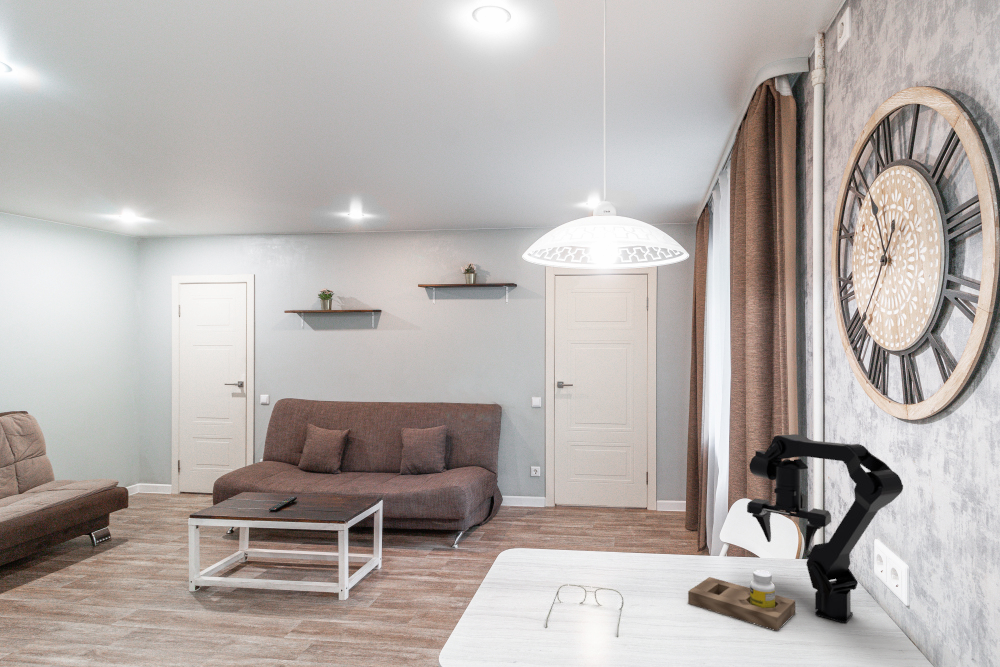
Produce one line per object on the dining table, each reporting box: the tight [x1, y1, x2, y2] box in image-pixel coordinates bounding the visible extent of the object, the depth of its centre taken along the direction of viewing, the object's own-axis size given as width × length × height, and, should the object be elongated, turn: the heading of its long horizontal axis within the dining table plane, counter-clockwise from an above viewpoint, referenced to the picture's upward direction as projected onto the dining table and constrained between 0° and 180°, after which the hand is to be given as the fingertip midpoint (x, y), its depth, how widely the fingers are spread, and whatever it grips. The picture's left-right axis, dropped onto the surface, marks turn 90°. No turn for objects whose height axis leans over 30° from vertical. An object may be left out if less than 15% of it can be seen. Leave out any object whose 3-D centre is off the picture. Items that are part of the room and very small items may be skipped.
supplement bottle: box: [749, 569, 776, 608], centre depth 145 cm, size 5×5×10 cm
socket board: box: [687, 576, 796, 631], centre depth 149 cm, size 21×12×3 cm, turn 47°
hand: (788, 545), depth 157 cm, fingers open, 9 cm apart
